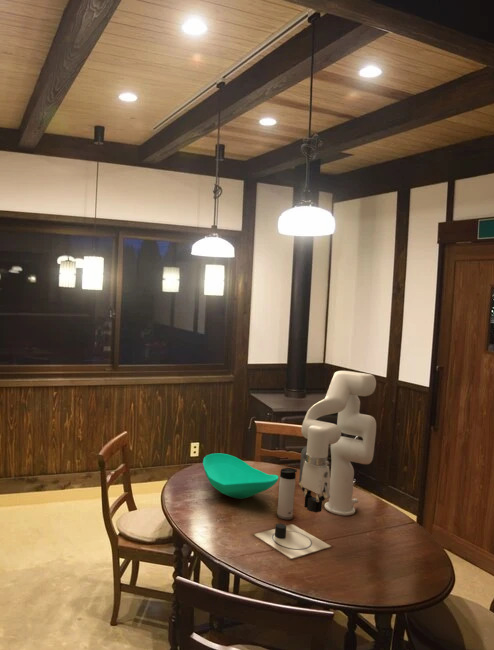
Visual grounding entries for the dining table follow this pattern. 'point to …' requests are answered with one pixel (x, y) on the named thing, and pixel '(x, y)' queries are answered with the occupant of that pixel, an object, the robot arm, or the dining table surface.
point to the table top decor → (236, 476)
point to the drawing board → (293, 542)
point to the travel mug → (286, 493)
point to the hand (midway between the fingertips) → (312, 508)
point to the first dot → (280, 531)
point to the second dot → (311, 503)
